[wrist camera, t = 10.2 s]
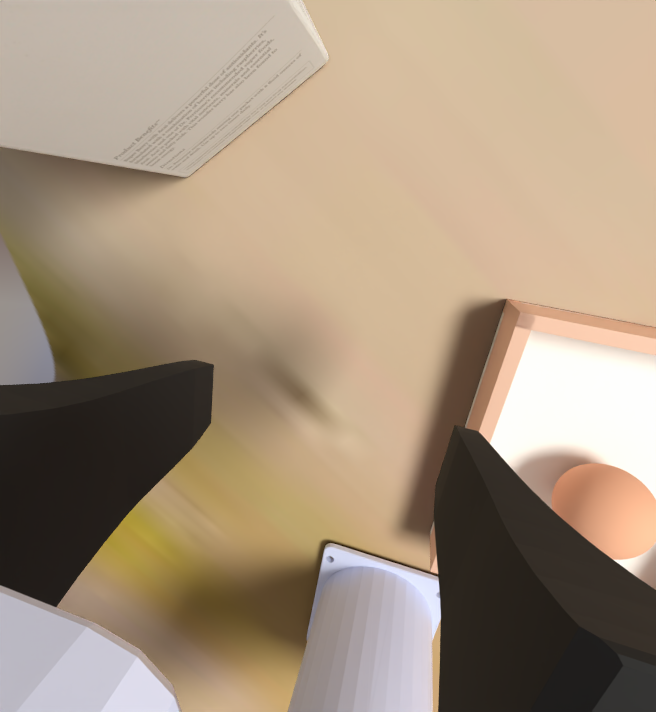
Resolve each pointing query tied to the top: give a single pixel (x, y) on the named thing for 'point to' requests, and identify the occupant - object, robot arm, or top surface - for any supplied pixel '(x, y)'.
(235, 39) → the supplement box
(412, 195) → the top surface
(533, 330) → the peach open box
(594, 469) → the terracotta ball
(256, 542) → the top surface
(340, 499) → the top surface
